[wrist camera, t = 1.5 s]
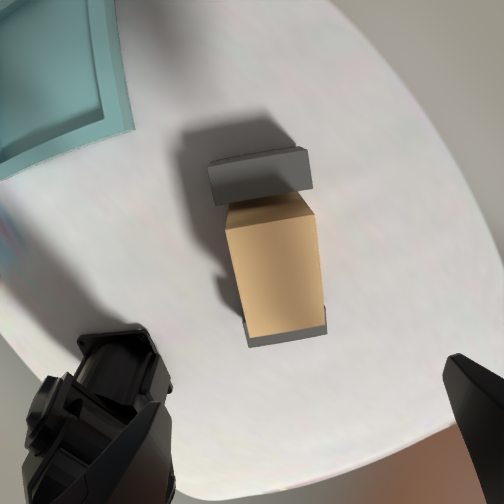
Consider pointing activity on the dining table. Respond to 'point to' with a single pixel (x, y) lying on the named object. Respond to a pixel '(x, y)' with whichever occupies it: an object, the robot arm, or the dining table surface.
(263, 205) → the wooden block
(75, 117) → the teal tray
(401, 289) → the dining table surface
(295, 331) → the pair of grey blocks
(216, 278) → the dining table surface
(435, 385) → the dining table surface
